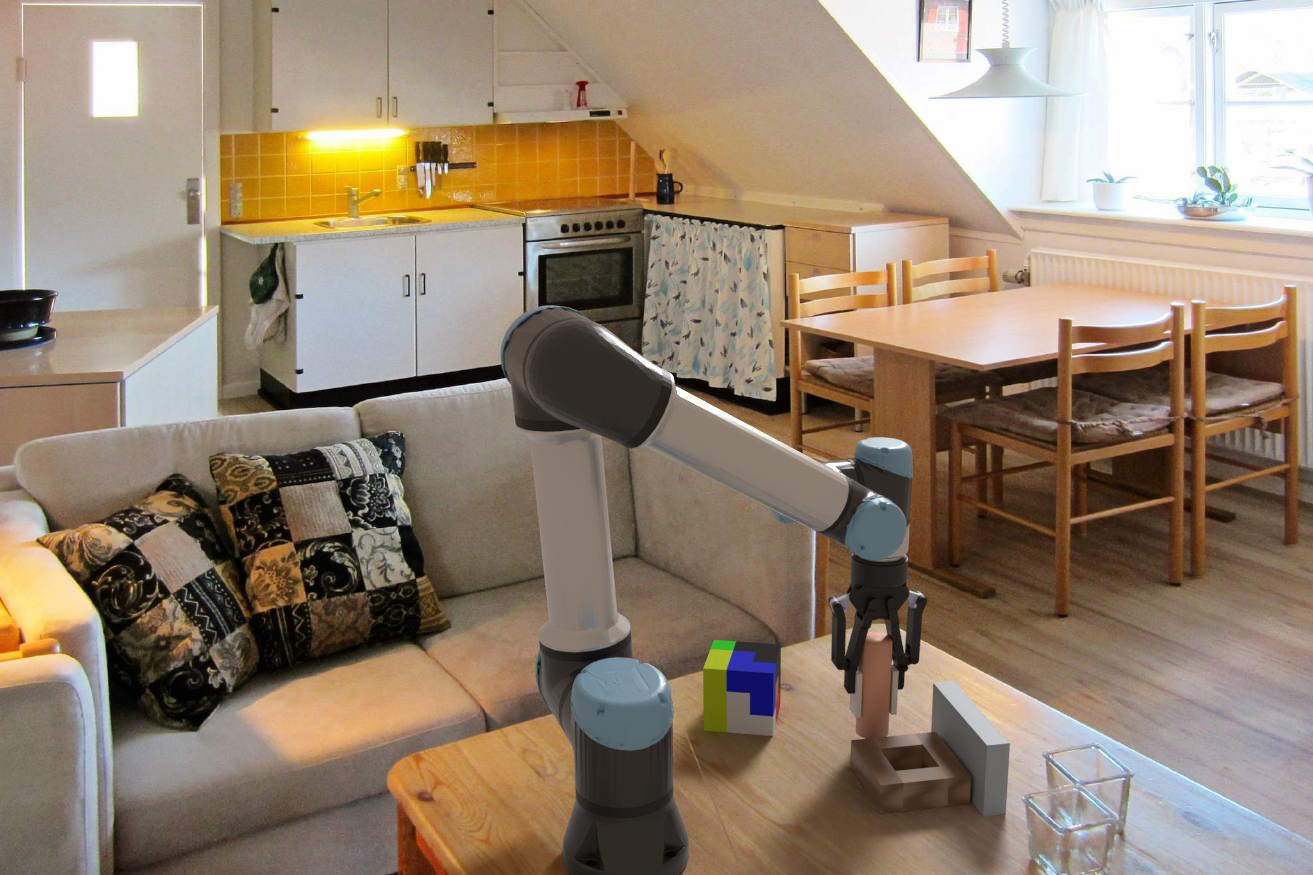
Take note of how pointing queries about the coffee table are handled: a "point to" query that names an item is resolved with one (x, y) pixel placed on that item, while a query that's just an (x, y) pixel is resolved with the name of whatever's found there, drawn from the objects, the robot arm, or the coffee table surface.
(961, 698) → the board
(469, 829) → the coffee table surface
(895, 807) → the block
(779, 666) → the puzzle toy
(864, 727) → the dowel
